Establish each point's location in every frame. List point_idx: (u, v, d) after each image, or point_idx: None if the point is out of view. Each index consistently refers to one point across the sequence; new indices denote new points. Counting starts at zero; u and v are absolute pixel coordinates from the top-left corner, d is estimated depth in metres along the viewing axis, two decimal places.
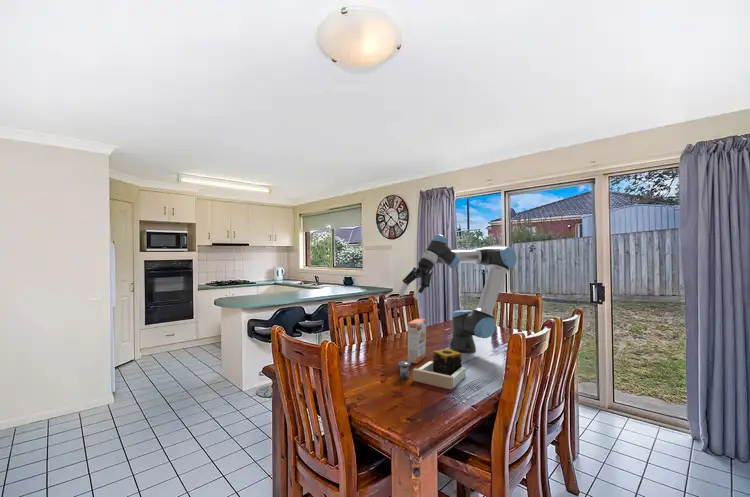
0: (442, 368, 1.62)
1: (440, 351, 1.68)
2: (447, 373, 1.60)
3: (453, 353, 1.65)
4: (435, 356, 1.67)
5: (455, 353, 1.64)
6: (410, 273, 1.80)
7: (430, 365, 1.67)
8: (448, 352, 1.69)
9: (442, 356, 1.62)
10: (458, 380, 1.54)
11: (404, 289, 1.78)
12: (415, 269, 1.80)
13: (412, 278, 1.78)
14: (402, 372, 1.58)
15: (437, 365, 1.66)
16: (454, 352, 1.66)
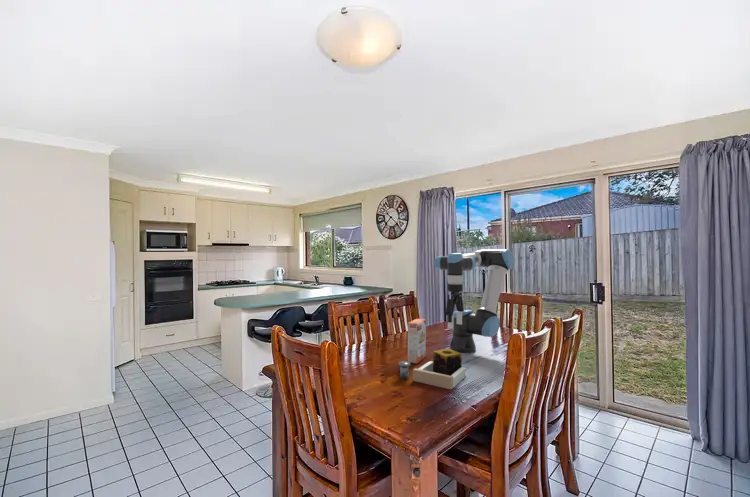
0: (442, 368, 1.62)
1: (440, 351, 1.68)
2: (447, 373, 1.60)
3: (453, 353, 1.65)
4: (435, 356, 1.67)
5: (455, 353, 1.64)
6: None
7: (430, 365, 1.67)
8: (448, 352, 1.69)
9: (442, 356, 1.62)
10: (458, 380, 1.54)
11: (459, 317, 1.80)
12: None
13: (458, 304, 1.79)
14: (402, 372, 1.58)
15: (437, 365, 1.66)
16: (454, 352, 1.66)
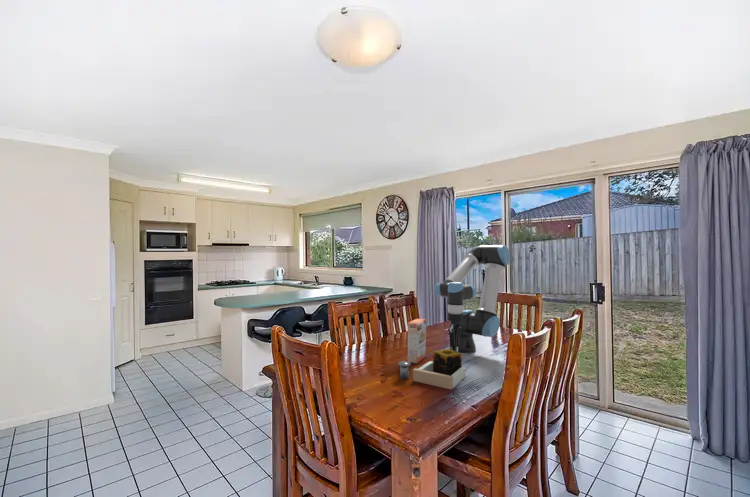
0: (442, 368, 1.62)
1: (440, 351, 1.68)
2: (447, 373, 1.60)
3: (453, 353, 1.65)
4: (435, 356, 1.67)
5: (455, 353, 1.64)
6: None
7: (430, 365, 1.67)
8: (448, 352, 1.69)
9: (442, 356, 1.62)
10: (458, 380, 1.54)
11: None
12: None
13: None
14: (402, 372, 1.58)
15: (437, 365, 1.66)
16: (454, 352, 1.66)
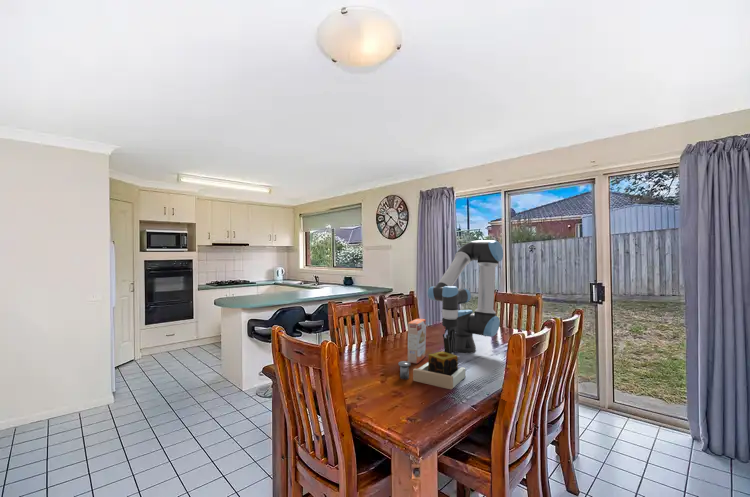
0: (439, 372, 1.56)
1: (435, 354, 1.62)
2: None
3: (449, 356, 1.60)
4: (431, 360, 1.61)
5: (451, 356, 1.60)
6: None
7: None
8: (443, 355, 1.64)
9: (439, 359, 1.57)
10: (458, 380, 1.54)
11: None
12: None
13: None
14: (402, 372, 1.58)
15: (433, 369, 1.60)
16: (450, 355, 1.62)
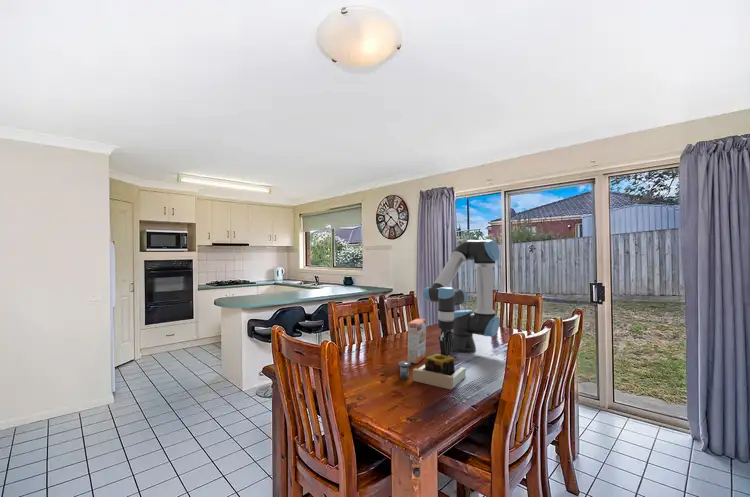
0: None
1: (432, 357, 1.59)
2: None
3: (446, 358, 1.57)
4: (427, 363, 1.57)
5: (448, 358, 1.57)
6: None
7: None
8: (439, 357, 1.60)
9: (437, 362, 1.53)
10: (458, 380, 1.54)
11: None
12: None
13: None
14: (402, 372, 1.58)
15: None
16: (446, 357, 1.59)
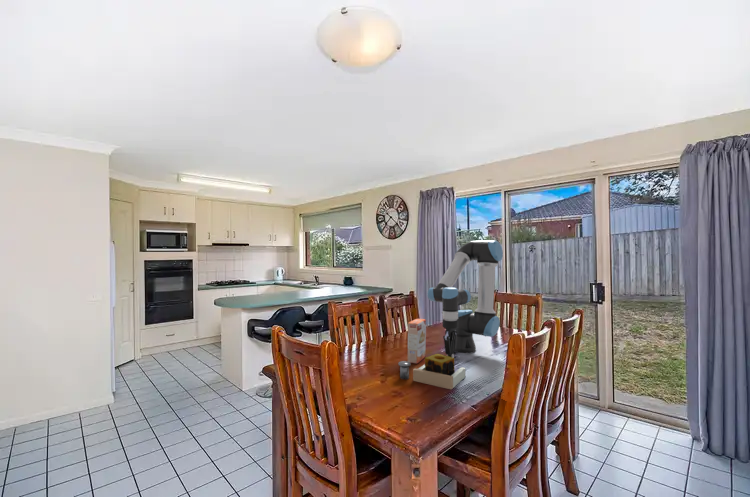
0: None
1: (432, 357, 1.59)
2: None
3: (446, 358, 1.57)
4: (427, 363, 1.57)
5: (448, 358, 1.57)
6: None
7: None
8: (439, 357, 1.60)
9: (437, 362, 1.53)
10: (458, 380, 1.54)
11: None
12: None
13: None
14: (402, 372, 1.58)
15: None
16: (446, 357, 1.59)
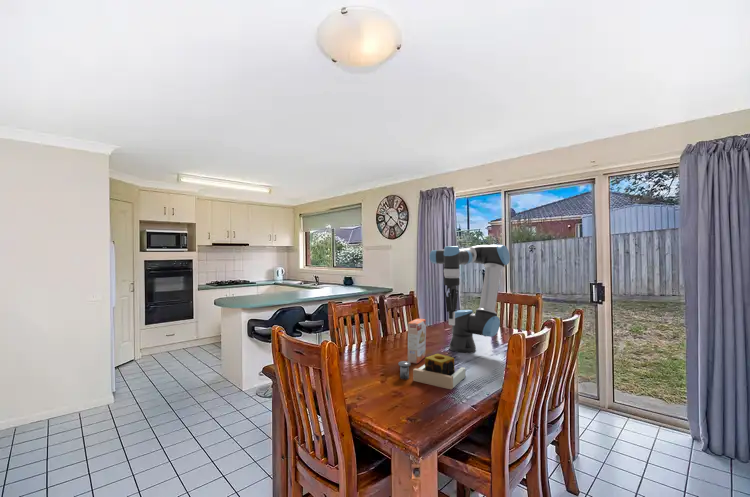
0: None
1: (432, 357, 1.59)
2: None
3: (446, 358, 1.57)
4: (427, 363, 1.57)
5: (448, 358, 1.57)
6: None
7: None
8: (439, 357, 1.60)
9: (437, 362, 1.53)
10: (458, 380, 1.54)
11: None
12: None
13: None
14: (402, 372, 1.58)
15: None
16: (446, 357, 1.59)
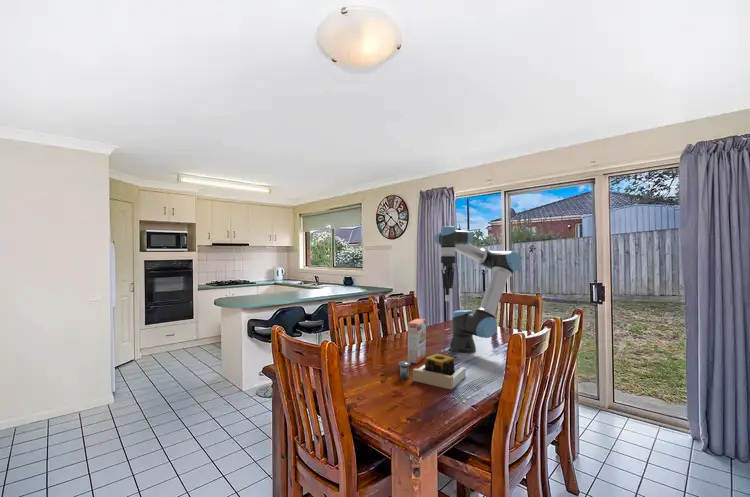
0: None
1: (432, 357, 1.59)
2: None
3: (446, 358, 1.57)
4: (427, 363, 1.57)
5: (448, 358, 1.57)
6: None
7: None
8: (439, 357, 1.60)
9: (437, 362, 1.53)
10: (458, 380, 1.54)
11: None
12: None
13: None
14: (402, 372, 1.58)
15: None
16: (446, 357, 1.59)
